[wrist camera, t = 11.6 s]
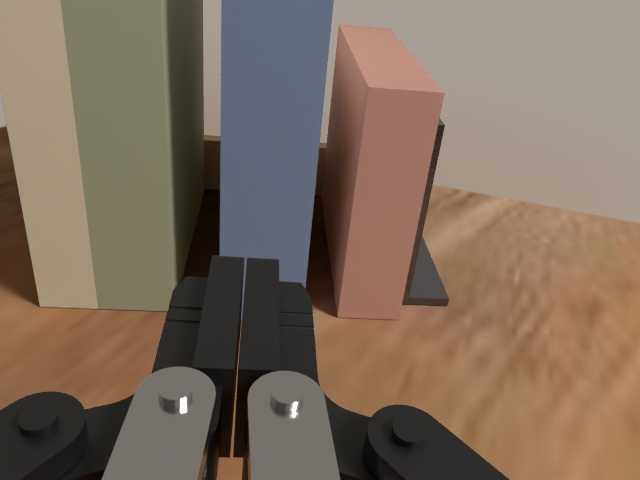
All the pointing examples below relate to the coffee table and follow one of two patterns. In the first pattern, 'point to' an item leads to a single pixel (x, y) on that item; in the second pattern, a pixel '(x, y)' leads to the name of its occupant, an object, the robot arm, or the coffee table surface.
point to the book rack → (192, 152)
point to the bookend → (425, 251)
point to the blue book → (271, 128)
